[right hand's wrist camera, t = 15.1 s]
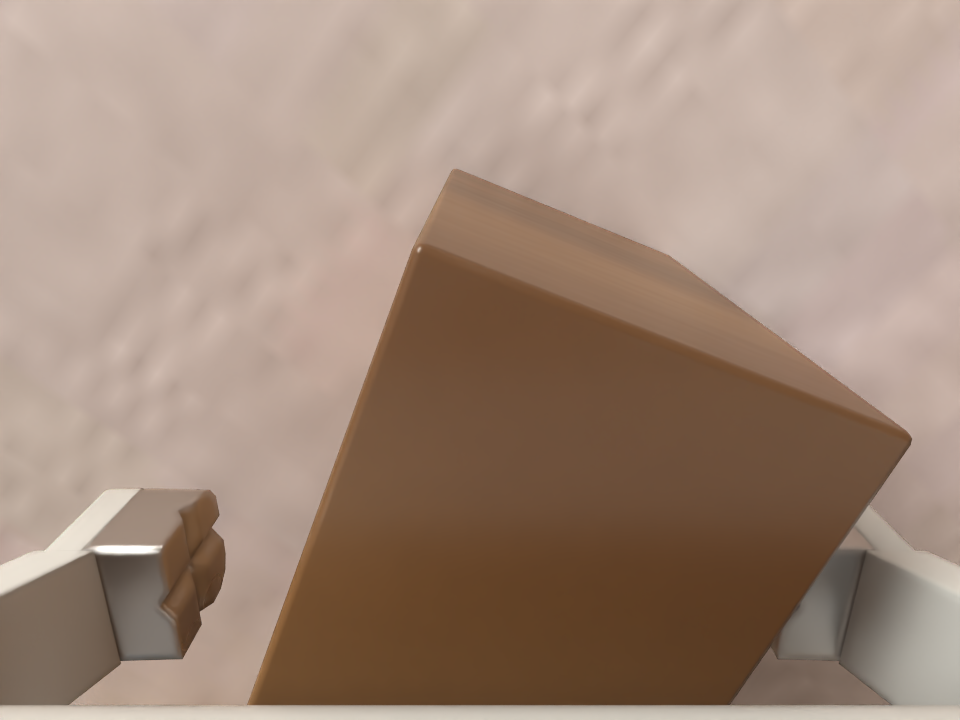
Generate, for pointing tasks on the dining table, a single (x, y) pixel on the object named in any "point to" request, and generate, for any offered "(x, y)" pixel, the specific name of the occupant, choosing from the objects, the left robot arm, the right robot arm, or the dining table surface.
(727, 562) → the bar
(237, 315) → the dining table surface
